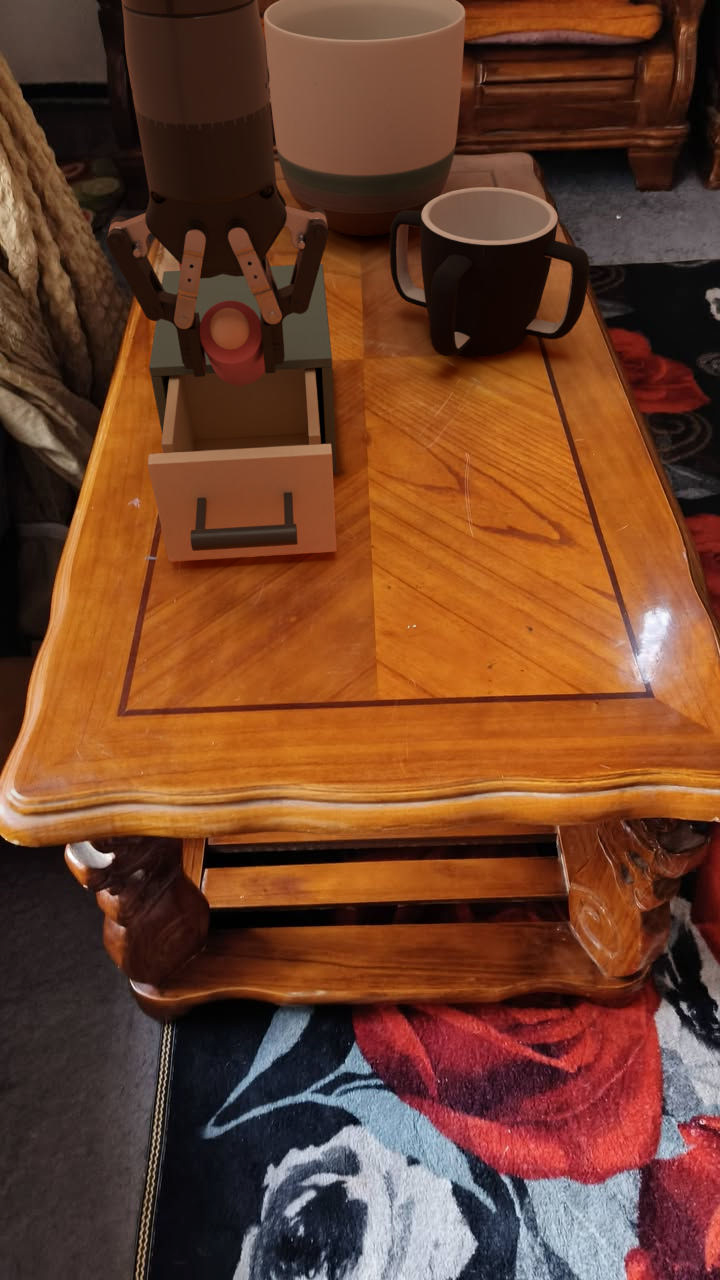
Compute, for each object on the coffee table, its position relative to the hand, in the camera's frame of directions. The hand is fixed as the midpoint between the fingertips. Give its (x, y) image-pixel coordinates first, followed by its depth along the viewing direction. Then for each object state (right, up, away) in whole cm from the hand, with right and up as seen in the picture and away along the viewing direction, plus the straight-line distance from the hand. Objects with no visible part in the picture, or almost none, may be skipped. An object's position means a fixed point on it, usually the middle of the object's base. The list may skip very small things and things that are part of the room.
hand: (235, 367), depth 66 cm
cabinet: (-1, 0, +19) cm, 19 cm away
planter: (+9, +30, +47) cm, 56 cm away
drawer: (0, -9, +8) cm, 12 cm away
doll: (0, +2, +4) cm, 5 cm away
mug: (+20, +11, +28) cm, 37 cm away
